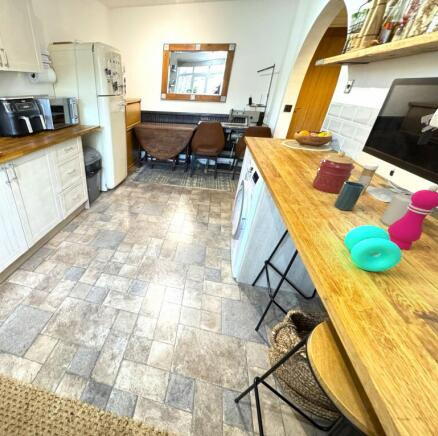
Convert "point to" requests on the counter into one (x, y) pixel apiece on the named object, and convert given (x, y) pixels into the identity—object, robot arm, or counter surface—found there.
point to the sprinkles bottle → (367, 175)
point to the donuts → (372, 248)
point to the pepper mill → (413, 218)
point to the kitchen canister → (333, 172)
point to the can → (397, 207)
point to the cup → (349, 195)
